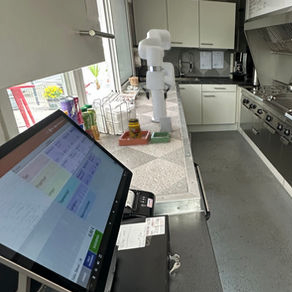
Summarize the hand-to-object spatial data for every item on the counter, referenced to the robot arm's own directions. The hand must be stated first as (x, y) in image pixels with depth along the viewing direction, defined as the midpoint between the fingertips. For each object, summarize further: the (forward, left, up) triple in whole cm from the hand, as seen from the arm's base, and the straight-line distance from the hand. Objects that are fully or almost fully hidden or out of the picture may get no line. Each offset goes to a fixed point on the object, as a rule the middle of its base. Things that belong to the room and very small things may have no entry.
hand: (156, 99), depth 142 cm
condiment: (+11, -12, -22) cm, 27 cm away
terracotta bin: (+11, -12, -22) cm, 27 cm away
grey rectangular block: (-3, +4, -22) cm, 23 cm away
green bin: (+12, +2, -22) cm, 25 cm away
